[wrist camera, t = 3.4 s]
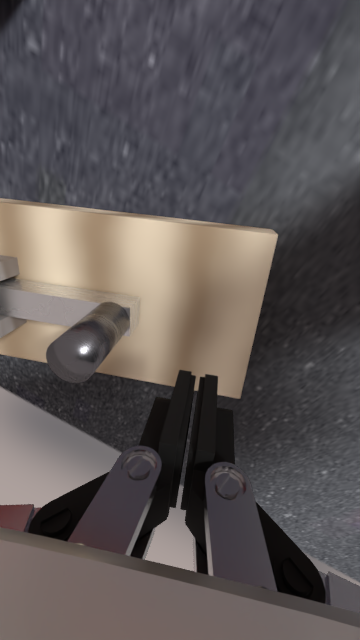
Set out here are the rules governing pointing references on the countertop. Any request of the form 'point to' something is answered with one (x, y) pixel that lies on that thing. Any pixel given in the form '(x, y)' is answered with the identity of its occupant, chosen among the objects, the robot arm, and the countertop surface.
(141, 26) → the countertop surface
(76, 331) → the bolt
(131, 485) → the robot arm
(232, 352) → the block fixture base
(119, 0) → the countertop surface
